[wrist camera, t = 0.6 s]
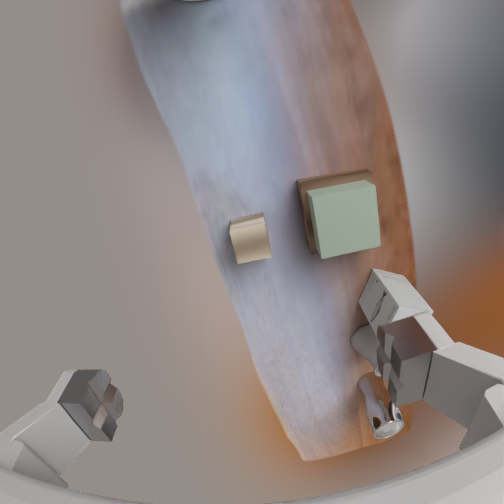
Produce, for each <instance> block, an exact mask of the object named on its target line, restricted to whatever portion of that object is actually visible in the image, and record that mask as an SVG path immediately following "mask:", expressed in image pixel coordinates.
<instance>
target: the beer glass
mask: <svg viewBox="0 0 504 504" xmlns="http://www.w3.org/2000/svg"><path fill="white" fill-rule="evenodd" d="M358 387H359V389H360V390H361V391H362V393H363V395H364V399H365V407H366V414H367V419H368V422H369V425H370V427H371V430H372V432H373V434H374V437H375V438H377V439H385V438H388V437H391V436H393V435H395V434H397V433H398V432H399V431H400V430H401V429H402V428H403V426H404V422H403V419H402V416H401V413H400V410H399V408H398V407H395V406H394V404H393V401H392V399H391V397H390V395H389V392H388V390H387V389H386V387H385V385H384V381H383V379H382V377H381V376H380V377H378V376H376V375H375V374H374V372H370V373H368V374H366V375H364V376H363V377H362V378H361V379H360V380H359V382H358Z"/></svg>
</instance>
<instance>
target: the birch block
mask: <svg viewBox="0 0 504 504" xmlns="http://www.w3.org/2000/svg"><path fill="white" fill-rule="evenodd" d="M230 236H231V240H232V244H233V248H234V252H235V255H236V259H237V263H238V264H241V263H246V262H251V261H256V260H261V259H265V258H270V257H272V254H271V249H270V243H269V238H268V233H267V229H266V224H265V220H264V215H263V213H258V214H254V215H249V216H244V217H240V218H235V219H231V225H230Z"/></svg>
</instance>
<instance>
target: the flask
mask: <svg viewBox="0 0 504 504" xmlns="http://www.w3.org/2000/svg"><path fill="white" fill-rule="evenodd" d="M350 340H351V344H352V348H353V349H354V350H356V351H357V352H358V353H360V354H361V355H362V356H363V357H364V358H366V359H367V360H368V361H369V362H370V364H371V365H372V366H373V368H374V374H375V375H376V376H378V377H380V376H381V374H380V372H379V368H378V364H377V348H378V347H379V345H380V343H379V341H378V339H377V337H376V335H375V333H374V331H373V329H372V327H371V325H370V324H368V325H366V326H363V327H360V328H359V329H358V330H357V331H356V332H355V333H354V334H353V335H352V336H351V337H350Z"/></svg>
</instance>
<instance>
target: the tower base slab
mask: <svg viewBox="0 0 504 504" xmlns="http://www.w3.org/2000/svg"><path fill="white" fill-rule="evenodd" d="M362 180H366V181H368V182H370V183H372V184H373V175H372V172H371V171H369V170H367V169H365V168H362V169H355V170H349V171H343V172H337V173H332V174H326V175H320V176H315V177H309V178H304V179H299V180H297V185H298V191H299V196H300V202H301V208H302V214H303V219H304V225H305V231H306V238H307V244H308V247H309V249H310V252H311V254H317V253H318V251H317V249H316V244H315V237H314V231H313V225H312V219H311V213H310V208H309V202H308V196H307V191H309V190H314V189H319V188H324V187H330V186H335V185H340V184H346V183H351V182H356V181H362ZM373 185H374V184H373Z"/></svg>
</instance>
